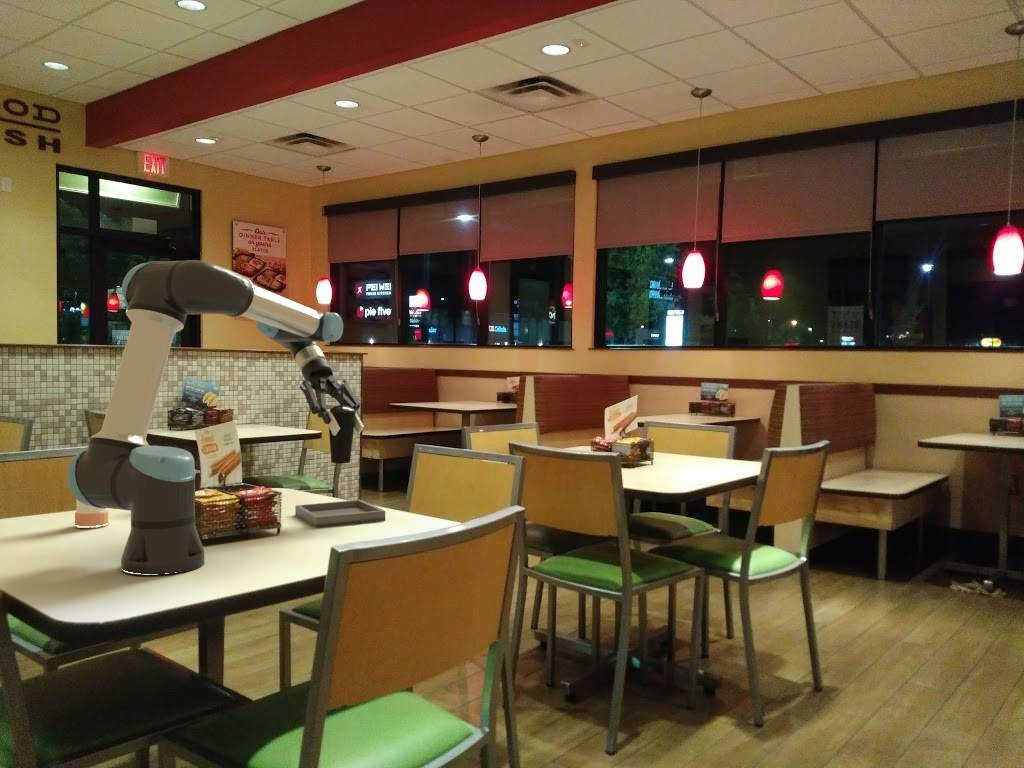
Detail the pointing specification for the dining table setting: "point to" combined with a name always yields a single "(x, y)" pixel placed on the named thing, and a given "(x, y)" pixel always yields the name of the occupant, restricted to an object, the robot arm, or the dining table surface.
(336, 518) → the serving tray
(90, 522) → the pepper shaker
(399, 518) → the dining table surface
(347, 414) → the drinking cup
